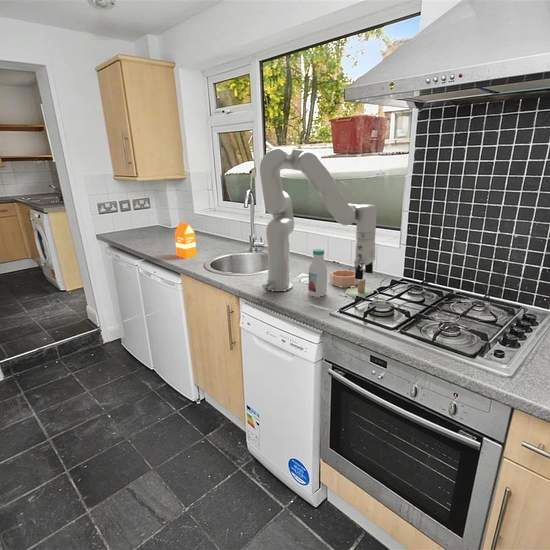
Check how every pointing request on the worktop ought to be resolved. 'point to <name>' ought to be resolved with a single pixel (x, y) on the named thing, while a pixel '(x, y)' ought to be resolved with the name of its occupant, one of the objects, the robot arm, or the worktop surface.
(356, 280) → the bowl
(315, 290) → the milk bottle
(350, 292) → the lid
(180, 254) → the orange juice
